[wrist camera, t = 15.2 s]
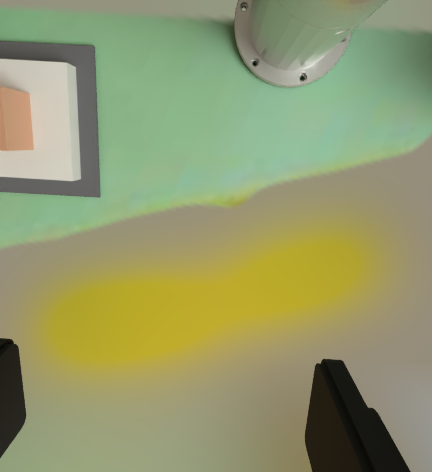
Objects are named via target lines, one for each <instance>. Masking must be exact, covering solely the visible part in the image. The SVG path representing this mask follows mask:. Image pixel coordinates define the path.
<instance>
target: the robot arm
mask: <svg viewBox="0 0 432 472" xmlns="http://www.w3.org/2000/svg"><path fill="white" fill-rule="evenodd" d="M386 1H387V0H238V3H237V7H236V12H235V20H234V32H235V40H236V44H237V47H238V51H239V53H240V55H241V57H242V59H243V61H244V63H245V64H246V66H247V67H248V68H249V69H250V71H251V72H252V73H253V74H255V75H256V76H257V77H258V78H259V79H261V80H263V81H265V82H266V83H268V84H271V85H274V86H277V87H285V88H293V87H301V86H304V85H307V84H310V83H312V82H314V81H316V80H318V79H319V78H321V77H322V76H324V75H325V74H327V73H328V72H329V71H330V70H331V69H332V68H333V67H334V66H335V65H336V64H337V62H338V61H339V60H340V58H341V57H342V55H343V54H344V52H345V50H346V48H347V46H348V44H349V41H350V37H351V34H352V31H354V30H355V29H356V28H357V27H358V26H359V25H360V24H361V23H363V22H364V21H365V20H366V19H367V18H368V17H369V16H371V15H372V14H373V13H374V12H375V11H376V10H377V9H378V8H380V7H381V6H382V5H383V4H384V3H385V2H386ZM243 7H245V8H246V11H242V10H241V9H242V8H243ZM341 41H342V42H341ZM253 62H256V63H257V65H256V66H253V64H252V63H253ZM300 76H302V77H303V78H304V80H303V81H301V80H300ZM25 419H26V409H25V400H24V392H23V383H22V375H21V366H20V357H19V349H18V346H17V345H16V344H14V342H13V341H12V340H11V339H2V338H0V458H1V456H2V455H3V454H4V452H5V451H6V449H7V448H8V446H9V445H10V444H11V442H12V441H13V440H14V438H15V437H16V435H17V434H18V432H19V431H20V430H21V428H22V427H23V425H24V422H25ZM305 443H306V448H307V452H308V456H309V460H310V464H311V468H312V472H410V470H409V468H408V466H407V465H406V463H405V461H404V459H403V457H402V456H401V454H400V452H399V450H398V448H397V447H396V445H395V443H394V441H393V440H392V438H391V436H390V434H389V432H388V431H387V429H386V427H385V425H384V424H383V422H382V420H381V418H380V416H379V415H378V413H377V412H376V410H375V409H373V408H368V407H367V405H366V404H365V402H364V400H363V398H362V396H361V394H360V392H359V390H358V389H357V387H356V385H355V383H354V381H353V379H352V377H351V375H350V373H349V372H348V370H347V368H346V366H345V364H344V362H343V361H342V360H331V359H323V360H322V362H321V364H318V363H317V364H316V366H315V371H314V378H313V384H312V391H311V397H310V405H309V411H308V417H307V424H306V431H305Z"/></svg>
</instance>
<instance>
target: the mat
mask: <svg viewBox="0 0 432 472" xmlns="http://www.w3.org/2000/svg"><path fill="white" fill-rule="evenodd" d="M0 59H13V60H30V61H47V62H65V63H68V64H70V65H72V66H74V67H76V82H77V103H78V125H79V146H80V168H81V179H80V180H76V181H61V180H45V179H29V178H13V177H0V192H14V193H31V194H49V195H66V196H84V197H100V173H99V146H98V120H97V93H96V67H95V47H94V46H86V45H66V44H46V43H26V42H6V41H0Z"/></svg>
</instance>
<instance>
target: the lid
mask: <svg viewBox="0 0 432 472" xmlns="http://www.w3.org/2000/svg"><path fill="white" fill-rule="evenodd" d="M0 177H13V178H29V179H45V180H61V181H76V180H80V179H81V168H80V146H79V125H78V103H77V82H76V67H74V66H72V65H70V64H68V63H65V62H47V61H30V60H13V59H0Z"/></svg>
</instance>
